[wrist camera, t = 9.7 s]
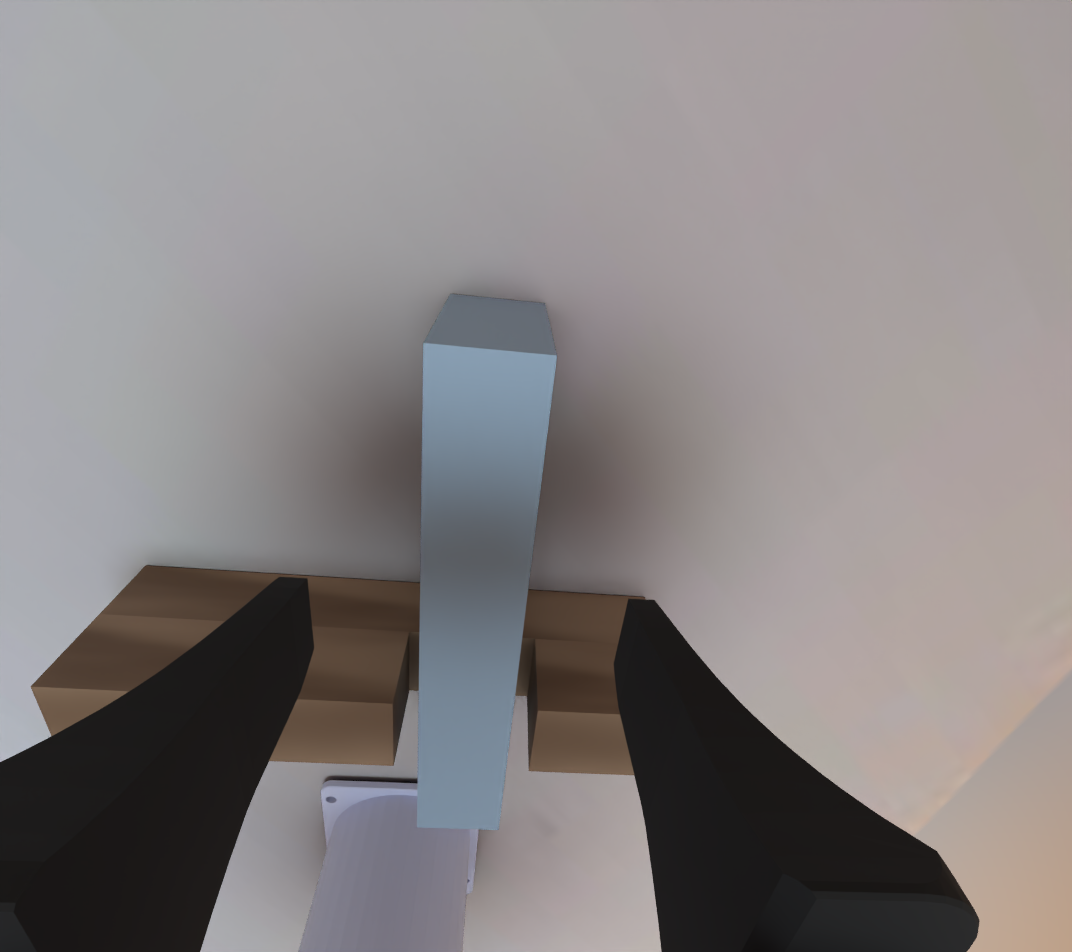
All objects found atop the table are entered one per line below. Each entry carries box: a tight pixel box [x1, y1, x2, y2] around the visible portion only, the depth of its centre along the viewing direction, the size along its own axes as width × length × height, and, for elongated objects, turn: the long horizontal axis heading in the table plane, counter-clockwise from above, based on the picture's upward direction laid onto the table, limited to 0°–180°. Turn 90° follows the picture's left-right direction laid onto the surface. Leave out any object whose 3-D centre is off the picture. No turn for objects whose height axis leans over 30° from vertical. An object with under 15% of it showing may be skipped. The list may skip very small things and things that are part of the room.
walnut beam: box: [31, 566, 645, 775], centre depth 21 cm, size 3×20×6 cm, turn 84°
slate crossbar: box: [417, 294, 557, 830], centre depth 20 cm, size 18×3×6 cm, turn 174°
